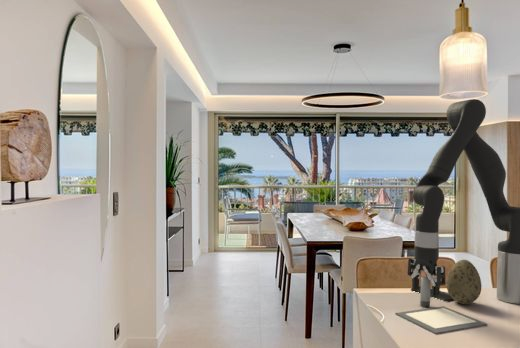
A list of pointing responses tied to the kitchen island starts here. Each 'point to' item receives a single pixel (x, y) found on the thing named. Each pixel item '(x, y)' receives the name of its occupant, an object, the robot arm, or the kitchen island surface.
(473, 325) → the writing mat
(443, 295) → the phone
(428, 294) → the marker
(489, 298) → the kitchen island surface
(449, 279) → the decorative egg
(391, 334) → the kitchen island surface
